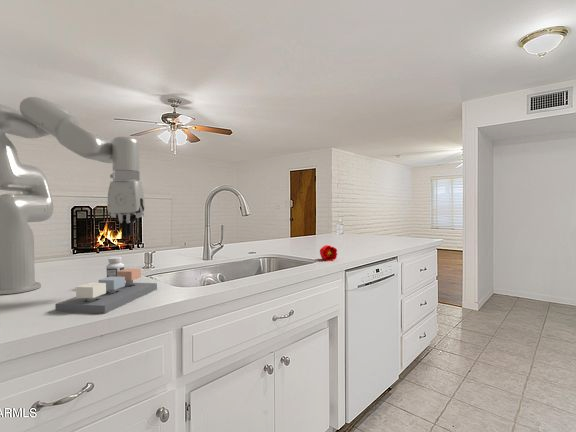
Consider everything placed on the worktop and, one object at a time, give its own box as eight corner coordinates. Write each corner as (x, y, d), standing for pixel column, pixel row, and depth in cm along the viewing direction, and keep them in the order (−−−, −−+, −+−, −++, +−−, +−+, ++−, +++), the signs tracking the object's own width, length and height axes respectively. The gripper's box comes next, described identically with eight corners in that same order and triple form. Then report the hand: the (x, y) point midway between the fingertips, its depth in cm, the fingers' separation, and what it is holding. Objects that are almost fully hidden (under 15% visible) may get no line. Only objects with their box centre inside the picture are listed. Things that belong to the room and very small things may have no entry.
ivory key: (76, 305, 81) (76, 286, 81) (90, 299, 86) (90, 282, 86) (93, 305, 81) (92, 287, 81) (106, 300, 86) (105, 283, 86)
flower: (333, 248, 165) (340, 249, 158) (328, 261, 164) (334, 263, 157) (321, 242, 164) (326, 243, 156) (315, 256, 163) (321, 258, 155)
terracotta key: (117, 286, 97) (117, 271, 97) (127, 283, 102) (127, 268, 102) (131, 287, 97) (131, 271, 97) (141, 283, 101) (140, 268, 101)
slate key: (98, 296, 89) (98, 279, 89) (110, 292, 94) (110, 276, 94) (114, 297, 89) (113, 280, 89) (125, 292, 94) (124, 276, 93)
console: (55, 311, 81) (55, 303, 80) (117, 288, 104) (117, 282, 104) (105, 313, 79) (104, 305, 79) (157, 289, 102) (156, 283, 102)
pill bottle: (120, 283, 111) (120, 256, 111) (127, 285, 108) (126, 257, 108) (104, 286, 107) (103, 257, 107) (110, 288, 104) (110, 259, 104)
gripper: (96, 176, 95) (97, 236, 96) (140, 175, 93) (141, 236, 94) (113, 179, 103) (114, 234, 103) (155, 178, 101) (155, 234, 101)
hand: (127, 235), depth 98 cm, fingers closed
